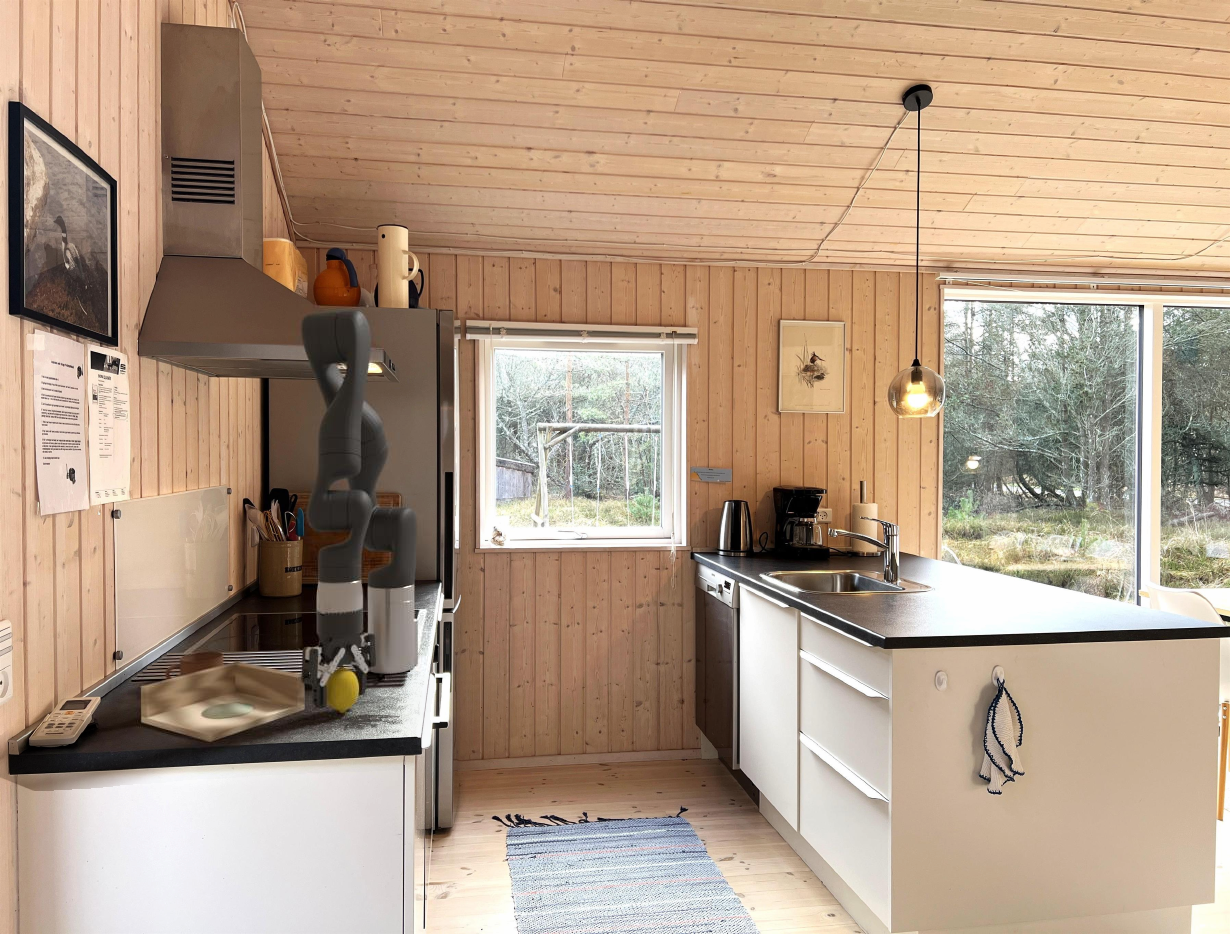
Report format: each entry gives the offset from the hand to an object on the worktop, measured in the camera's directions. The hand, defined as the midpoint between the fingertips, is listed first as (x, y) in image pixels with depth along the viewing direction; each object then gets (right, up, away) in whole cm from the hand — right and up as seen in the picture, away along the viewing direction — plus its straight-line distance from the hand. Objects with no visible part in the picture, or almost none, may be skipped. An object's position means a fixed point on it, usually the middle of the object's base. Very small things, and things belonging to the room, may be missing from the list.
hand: (340, 700), depth 143 cm
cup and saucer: (-31, -2, +14) cm, 34 cm away
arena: (-19, -2, -1) cm, 19 cm away
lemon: (0, -2, 0) cm, 2 cm away
